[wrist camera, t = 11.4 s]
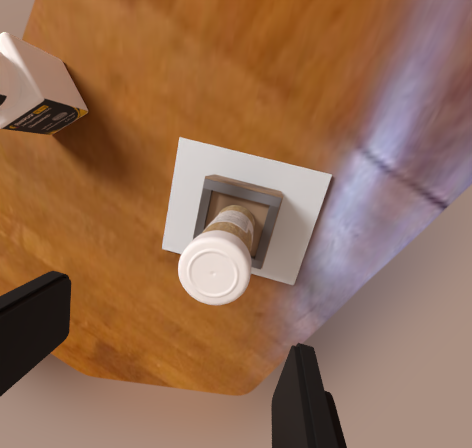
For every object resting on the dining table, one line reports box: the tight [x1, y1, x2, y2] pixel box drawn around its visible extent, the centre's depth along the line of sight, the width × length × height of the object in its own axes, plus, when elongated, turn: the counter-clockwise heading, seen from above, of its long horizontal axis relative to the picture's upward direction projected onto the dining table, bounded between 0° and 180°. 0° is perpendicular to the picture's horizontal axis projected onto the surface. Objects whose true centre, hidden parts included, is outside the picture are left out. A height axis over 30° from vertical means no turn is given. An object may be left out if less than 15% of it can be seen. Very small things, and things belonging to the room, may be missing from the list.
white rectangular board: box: [162, 137, 332, 285], centre depth 32 cm, size 20×16×1 cm
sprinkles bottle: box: [178, 205, 255, 305], centre depth 21 cm, size 5×5×13 cm
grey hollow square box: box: [192, 174, 283, 270], centre depth 29 cm, size 9×9×6 cm
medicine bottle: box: [0, 32, 88, 135], centre depth 26 cm, size 7×7×12 cm
